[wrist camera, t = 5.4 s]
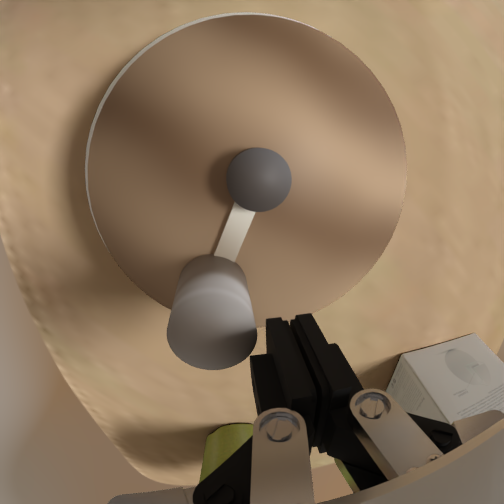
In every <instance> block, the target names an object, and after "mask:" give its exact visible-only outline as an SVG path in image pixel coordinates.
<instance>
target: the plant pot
mask: <svg viewBox="0 0 504 504" xmlns="http://www.w3.org/2000/svg"><path fill="white" fill-rule="evenodd" d="M252 435H253V425H252V424H232V425H226V426H223V427H220V428H218V429H217V430H216V431H215V432H214V433H212V434H209V435H208V437H207V440H206V445H205V451H204V457H203V463H202V469H201V475H200V481H199V483H200V482H201V481H202V480H204V479H205V478H206V477H207V476H208V475H210V474H211V473H212V472H213V471H214V470H215V469H217V468H218V467H219V466H220V465H221V464H222V463H223V462H224V461H226V460H227V459H228V458H229V457H230V456H231V455H232V454H233V453H234V452H235V451H236V450H237V449H239V448H240V447H241V446H242V445H243V444H244V443H245V442H246V441H247V440H248V439H249V438H250V437H251V436H252Z"/></svg>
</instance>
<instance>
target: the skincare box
mask: <svg viewBox="0 0 504 504" xmlns="http://www.w3.org/2000/svg"><path fill="white" fill-rule="evenodd" d="M386 392H387V393H388V394H389V395H391V396H392V397H393V398H394V400H395V401H396V402H397V403H398V404H399V405H400V406H401V407H402V408H403V410H404V411H405V412H407V413H411V414H415V415H418V416H422V417H426V418H429V419H433V420H437V421H441V422H445V423H448V424H450V425H451V424H452V423H453V421H457V420H460V419H464V418H467V417H471V416H474V415H477V414H480V413H484V412H487V411H490V410H499V411H501V412H503V413H504V363H503V362H502V361H501V360H500V359H499V358H498V357H497V356H496V355H495V354H494V353H493V351H492V350H491V349H490V348H489V347H488V346H487V345H486V344H485V343H484V342H483V341H482V340H481V339H480V338H479V337H478V336H477V335H476V333H473V334H470V335H467V336H464V337H461V338H457V339H454V340H451V341H448V342H444V343H441V344H438V345H434V346H431V347H427V348H424V349H420V350H416V351H412V352H408V353H404V354H402V355H401V357H400V359H399V362H398V364H397V367H396V369H395V371H394V374H393V376H392V379H391V381H390V383H389V385H388V388H387V390H386Z"/></svg>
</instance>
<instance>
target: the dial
mask: <svg viewBox="0 0 504 504" xmlns="http://www.w3.org/2000/svg"><path fill="white" fill-rule="evenodd" d="M406 185H407V157H406V147H405V141H404V137H403V133H402V128H401V125H400V122H399V119H398V116H397V114H396V111H395V109H394V106H393V104H392V102H391V100H390V98H389V97H388V95H387V93H386V91H385V89H384V88H383V86H382V85H381V83H380V82H379V81H378V79H377V78H376V76H375V75H374V74H373V72H372V71H371V70H370V69H369V68H368V67H367V66H366V65H365V64H364V63H363V62H362V61H361V60H360V59H359V57H358V56H356V55H355V54H354V53H353V52H351V51H350V50H349V49H348V48H346V47H345V46H344V45H343V44H341V43H340V42H338V41H337V40H335V39H333V38H332V37H330V36H328V35H327V34H325V33H323V32H321V31H319V30H317V29H314V28H312V27H310V26H307V25H305V24H302V23H299V22H295V21H292V20H288V19H284V18H280V17H273V16H265V15H232V16H225V17H219V18H213V19H209V20H206V21H203V22H199V23H196V24H193V25H190V26H188V27H185V28H183V29H181V30H179V31H177V32H175V33H173V34H171V35H169V36H167V37H166V38H164V39H163V40H161V41H160V42H158V43H157V44H155V45H154V46H152V47H151V48H149V49H148V50H147V51H146V52H145V53H143V54H142V55H141V56H140V57H139V58H138V59H137V60H136V61H135V62H134V63H132V64H131V66H130V67H129V68H128V69H127V70H126V71H125V73H124V74H123V75H122V76H121V78H120V79H119V80H118V81H117V83H116V84H115V86H114V87H113V89H112V91H111V92H110V94H109V96H108V97H107V99H106V101H105V102H104V105H103V107H102V109H101V112H100V114H99V116H98V119H97V121H96V124H95V128H94V131H93V135H92V139H91V143H90V149H89V158H88V190H89V196H90V202H91V208H92V212H93V215H94V218H95V221H96V224H97V227H98V230H99V232H100V234H101V237H102V239H103V241H104V243H105V245H106V247H107V249H108V250H109V252H110V254H111V255H112V257H113V258H114V260H115V261H116V263H117V264H118V266H119V267H120V268H121V269H122V270H123V271H124V273H125V274H126V275H127V276H128V277H129V278H130V280H131V281H132V282H133V283H135V284H136V285H137V286H138V287H139V288H140V289H141V290H142V291H144V292H145V293H146V294H147V295H148V296H150V297H151V298H153V299H154V300H156V301H157V302H159V303H160V304H162V305H163V306H165V307H167V308H169V309H171V314H170V318H169V323H168V327H167V340H168V343H169V345H170V348H171V349H172V351H173V352H174V353H175V355H176V356H177V357H179V358H180V359H181V360H182V361H184V362H185V363H187V364H189V365H191V366H194V367H197V368H200V369H206V370H220V369H226V368H229V367H232V366H235V365H237V364H239V363H240V362H242V361H243V360H245V359H246V358H247V357H248V356H249V355H250V354H251V352H252V351H253V349H254V347H255V345H256V341H257V329H256V328H258V327H266V319H268V318H276V317H281V318H282V320H287V321H288V322H290V320H291V319H295V316H296V315H299V314H307V313H311V314H313V313H315V312H317V311H319V310H321V309H323V308H324V307H326V306H328V305H330V304H331V303H333V302H334V301H336V300H337V299H339V298H340V297H342V296H343V295H345V294H346V293H347V292H348V291H349V290H351V289H352V288H353V287H354V286H355V285H356V284H358V283H359V282H360V280H361V279H362V278H363V277H364V276H365V275H366V274H367V273H368V272H369V271H370V270H371V269H372V267H373V266H374V265H375V263H376V262H377V260H378V259H379V258H380V256H381V255H382V253H383V252H384V250H385V248H386V246H387V245H388V243H389V241H390V239H391V237H392V235H393V233H394V230H395V228H396V226H397V223H398V221H399V217H400V214H401V210H402V207H403V203H404V198H405V191H406Z"/></svg>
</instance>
